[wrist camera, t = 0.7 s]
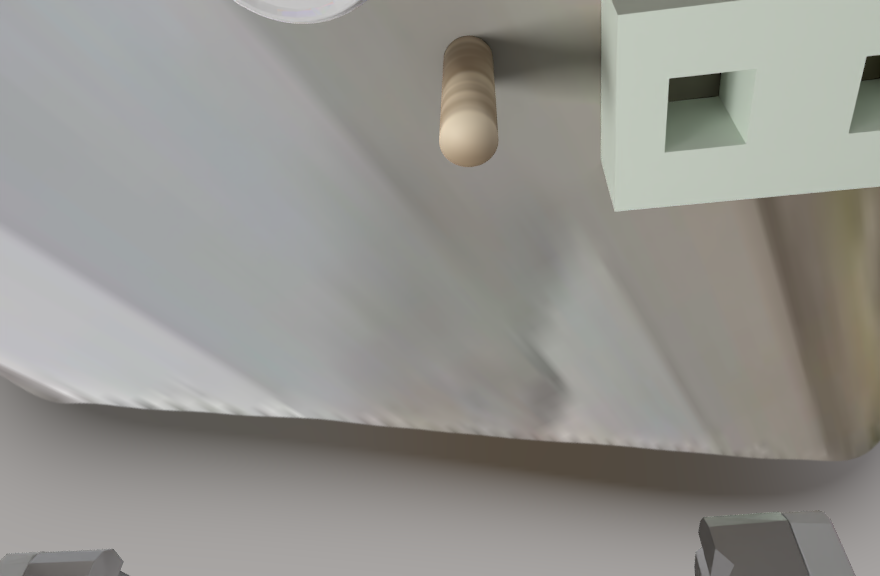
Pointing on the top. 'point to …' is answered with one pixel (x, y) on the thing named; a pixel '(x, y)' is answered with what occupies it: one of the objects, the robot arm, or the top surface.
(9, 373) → the top surface
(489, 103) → the peg
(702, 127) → the hole block
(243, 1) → the coffee cup
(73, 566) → the robot arm
